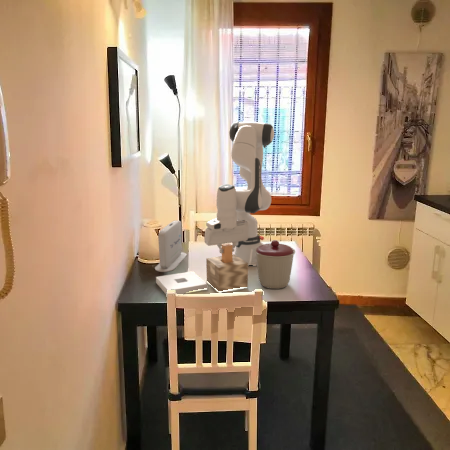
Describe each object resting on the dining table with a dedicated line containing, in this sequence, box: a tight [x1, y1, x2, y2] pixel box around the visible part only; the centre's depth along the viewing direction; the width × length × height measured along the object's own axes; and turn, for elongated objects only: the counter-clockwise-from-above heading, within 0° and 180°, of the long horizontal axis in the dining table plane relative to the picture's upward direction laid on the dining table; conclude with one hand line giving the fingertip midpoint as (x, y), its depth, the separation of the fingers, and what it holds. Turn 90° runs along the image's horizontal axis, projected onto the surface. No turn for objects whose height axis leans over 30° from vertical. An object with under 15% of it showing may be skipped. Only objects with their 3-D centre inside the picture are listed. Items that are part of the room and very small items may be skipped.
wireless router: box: [154, 220, 187, 273], centre depth 240 cm, size 31×10×20 cm, turn 168°
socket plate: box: [155, 270, 208, 295], centre depth 208 cm, size 18×18×3 cm
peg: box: [221, 243, 233, 263], centre depth 206 cm, size 4×4×10 cm
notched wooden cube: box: [205, 253, 249, 291], centre depth 208 cm, size 14×14×12 cm
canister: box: [255, 239, 296, 290], centre depth 208 cm, size 18×18×21 cm
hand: (226, 252), depth 206 cm, fingers closed on peg, 4 cm apart
